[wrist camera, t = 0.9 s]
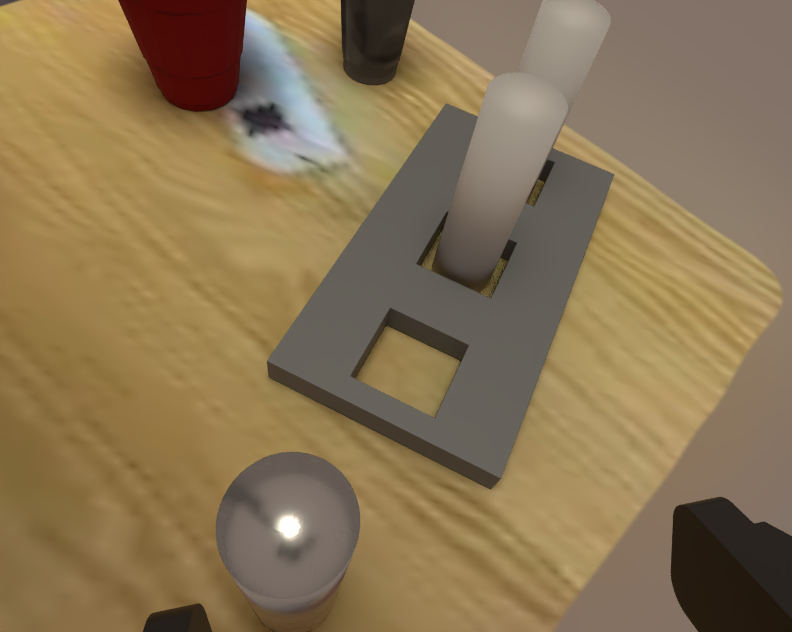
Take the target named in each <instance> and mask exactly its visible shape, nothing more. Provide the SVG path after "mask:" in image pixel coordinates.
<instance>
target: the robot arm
mask: <svg viewBox="0 0 792 632" xmlns="http://www.w3.org/2000/svg"><path fill="white" fill-rule="evenodd" d="M671 580H672V584H673V588H674V592H675V595H676V597H677V599H678V602H679V604H680V606H681V607H682V609H683V611H684V613H685V614H686V615H687V617H688V618H689V619H690V621H691V622H692V624H693V625H694V626H695V628H696V629H697V631H698V632H792V536H790V535H788V534H787V533H785V532H783V531H781V530H779V529H777V528H775V527H773V526H772V525H770V524H768V523H766V522H760V523H756V524H754V523H753V522H752V521H750V520H749V519H748V518H747V517H746V516H745V515H744V514H743V513H742V512H741V511H740V510H739V509H738V508H737V507H736V506H735V505H734V504H733V503H732V502H730V501H729V500H728V499H726V498H723V497H716V498H711V499H706V500H702V501H697V502H692V503H687V504H683V505H679V506H677V507H676V508H675V510H674V514H673V535H672V556H671ZM143 632H212V630H211V627H210V624H209V621H208V618H207V615H206V612H205V610H204V608H203V606H202V605H201V604H194V605H189V606H184V607H179V608H174V609H170V610H165V611H160V612H155V613H152V614H151V615H150V616H149V617H148V619H147V621H146V624H145V627H144V630H143Z"/></svg>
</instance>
